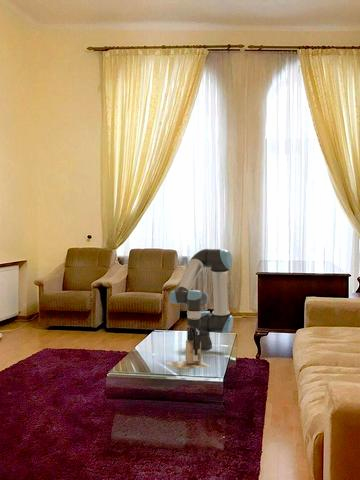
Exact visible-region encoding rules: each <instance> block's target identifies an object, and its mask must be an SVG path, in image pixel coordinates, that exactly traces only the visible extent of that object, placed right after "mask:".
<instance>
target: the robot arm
mask: <svg viewBox="0 0 360 480" xmlns="http://www.w3.org/2000/svg"><path fill="white" fill-rule="evenodd" d="M232 266H233V257H232V254H231V252H230V251H229V250H227V249H223V248H221V249H220V248H219V249H218V248H215V249H212V248H203V249H201V250H199V251H198V252H196V253H194V255H193V256H192V257H191V259H190V260H189V262H188V267H187V268H186V271H185V273H184V275H183V277H182V279H181V280H180V283H179V285H178V287H177V288H176V290H171V291H170V292H169V302H170V303H171V304H175V305H187V307H186V308H187V312H186V314H187V319H186V324H187V326H188V327H187V328H186V330H187V331H186V332H187V336H186V337H187V338H186V341H192V340H193V345H194V349H193V361H198V349H200V342H201V351H203V350H210V349H213V342H212V339H211V333H215V334H216V333H217V334H229V333H231V331H232V329H233V326H234V315H231V312H230V310H229V308H228V276H227V275H228V272H229V271H230V269H231V268H232ZM204 268H209V269H210V272H211V273H212V277H213V278H212V280H213V281H212V282H213V283H212V284H213V311H212V312H210V310H209V311H208V310H201V309H202V306H204V305H206V304H207V303H209V299H210V297H209V294H208V293H207V292H206V291H201V290H197V289H192V288H193V286H194V284H195V282H196V280H197V278H198V276H199V274H200V273H201V271H203V269H204Z"/></svg>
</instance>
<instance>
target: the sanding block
mask: <svg viewBox="0 0 360 480" xmlns="http://www.w3.org/2000/svg"><path fill="white" fill-rule="evenodd" d="M193 349H194V345H193V340H192V341H187V340H186V341H185V361H186V363H188V364H199V363H201V362H202V357H201V356H202V350H201V342H200V349H198V361H193Z"/></svg>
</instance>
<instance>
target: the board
mask: <svg viewBox="0 0 360 480" xmlns="http://www.w3.org/2000/svg"><path fill="white" fill-rule="evenodd" d="M166 364H167V365H169V366H170V367H172V368H174V369H175V370H185V369H186V370H187V369H197V368H207V367H208V368H209V367H210V368H211V365H209V364H207V363H205V362H204V361H201V363H199V364H188V363H186V360H181V361H168V362H166Z"/></svg>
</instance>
